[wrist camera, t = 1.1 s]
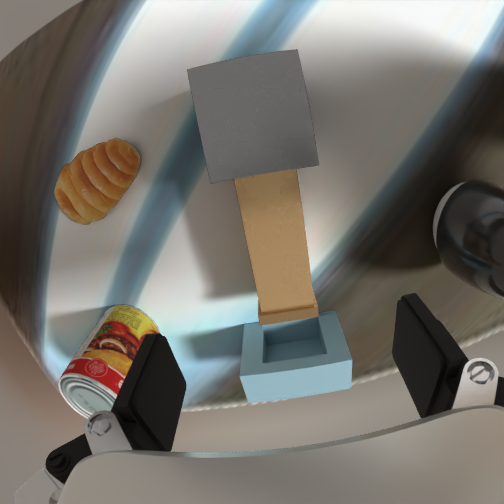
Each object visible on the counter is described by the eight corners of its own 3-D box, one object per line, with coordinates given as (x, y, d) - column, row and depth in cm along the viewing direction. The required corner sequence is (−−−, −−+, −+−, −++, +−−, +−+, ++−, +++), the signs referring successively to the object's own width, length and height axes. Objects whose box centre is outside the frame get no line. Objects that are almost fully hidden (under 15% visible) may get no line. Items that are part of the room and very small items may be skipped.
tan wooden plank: (275, 69, 22) (279, 55, 17) (310, 287, 29) (318, 316, 25) (216, 79, 22) (206, 68, 17) (260, 295, 30) (260, 325, 25)
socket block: (334, 309, 32) (352, 359, 24) (335, 337, 33) (350, 387, 26) (244, 324, 33) (239, 376, 25) (251, 350, 34) (248, 402, 27)
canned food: (152, 363, 36) (124, 436, 25) (98, 337, 35) (58, 403, 24) (169, 323, 33) (137, 402, 22) (108, 293, 32) (57, 361, 21)
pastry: (121, 120, 25) (102, 120, 21) (157, 176, 27) (143, 183, 23) (61, 177, 27) (40, 184, 23) (93, 226, 29) (75, 239, 25)
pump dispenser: (487, 167, 24) (589, 206, 10) (483, 252, 28) (563, 318, 14) (417, 173, 25) (526, 222, 12) (418, 268, 29) (494, 357, 15)
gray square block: (287, 69, 22) (297, 49, 16) (303, 155, 25) (318, 165, 19) (206, 84, 23) (187, 69, 17) (223, 169, 26) (210, 183, 20)
